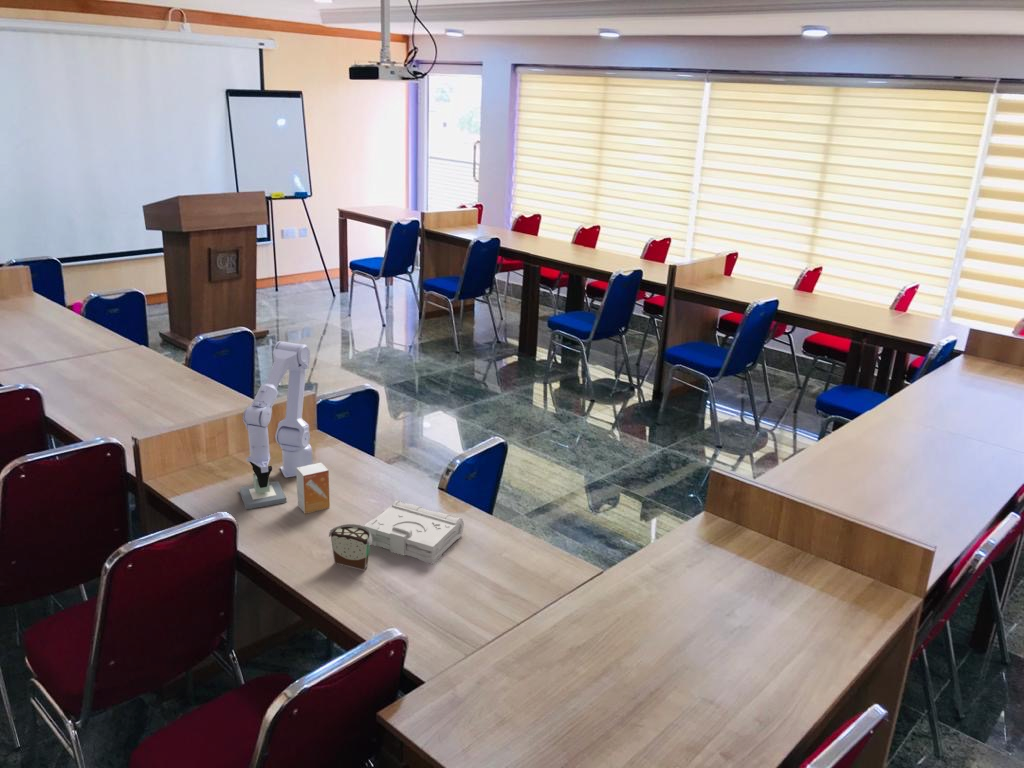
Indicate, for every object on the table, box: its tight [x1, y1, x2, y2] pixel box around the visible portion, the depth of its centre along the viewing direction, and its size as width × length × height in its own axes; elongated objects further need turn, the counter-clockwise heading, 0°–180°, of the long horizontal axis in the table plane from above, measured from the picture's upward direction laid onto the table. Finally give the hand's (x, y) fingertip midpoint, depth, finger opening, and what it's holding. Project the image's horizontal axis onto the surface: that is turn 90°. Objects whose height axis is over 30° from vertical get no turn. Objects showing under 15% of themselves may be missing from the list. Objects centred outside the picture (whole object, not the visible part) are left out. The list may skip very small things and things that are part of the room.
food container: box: [328, 523, 372, 571], centre depth 228 cm, size 12×6×10 cm, turn 71°
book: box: [363, 499, 465, 565], centre depth 241 cm, size 19×28×8 cm
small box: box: [295, 462, 331, 514], centre depth 255 cm, size 8×6×13 cm
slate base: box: [238, 480, 288, 510], centre depth 261 cm, size 12×12×2 cm
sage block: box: [252, 472, 270, 494], centre depth 259 cm, size 4×4×5 cm
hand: (261, 483), depth 260 cm, fingers closed on sage block, 4 cm apart
